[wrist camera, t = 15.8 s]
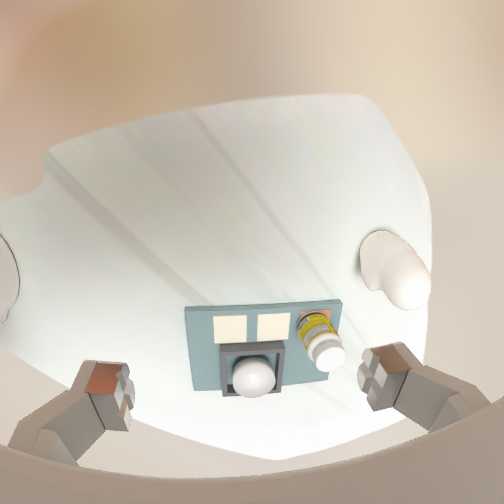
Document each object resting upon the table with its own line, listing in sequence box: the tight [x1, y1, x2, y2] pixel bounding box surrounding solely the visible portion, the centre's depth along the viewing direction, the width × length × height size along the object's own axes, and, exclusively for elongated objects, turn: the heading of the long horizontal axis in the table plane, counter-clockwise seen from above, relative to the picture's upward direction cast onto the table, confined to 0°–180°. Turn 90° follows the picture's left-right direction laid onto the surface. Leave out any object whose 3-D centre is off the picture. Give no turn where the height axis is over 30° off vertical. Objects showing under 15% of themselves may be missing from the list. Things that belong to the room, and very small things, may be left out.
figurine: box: [359, 231, 431, 311], centre depth 36 cm, size 7×8×12 cm
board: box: [185, 300, 343, 397], centre depth 43 cm, size 22×15×3 cm
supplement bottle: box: [297, 311, 346, 372], centre depth 39 cm, size 5×5×8 cm
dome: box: [232, 357, 276, 398], centre depth 42 cm, size 6×6×4 cm
